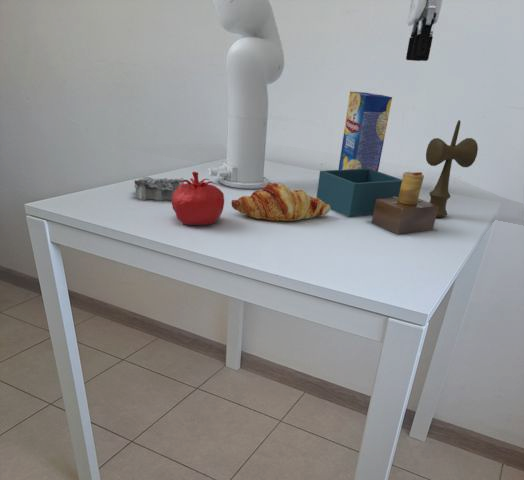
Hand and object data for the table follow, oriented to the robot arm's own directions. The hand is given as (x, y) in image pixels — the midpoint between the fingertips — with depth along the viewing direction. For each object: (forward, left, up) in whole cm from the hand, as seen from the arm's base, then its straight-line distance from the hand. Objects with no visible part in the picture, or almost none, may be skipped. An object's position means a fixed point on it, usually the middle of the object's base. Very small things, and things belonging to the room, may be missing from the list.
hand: (416, 60), depth 98 cm
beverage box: (+8, +21, -30) cm, 37 cm away
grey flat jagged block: (-47, +22, -30) cm, 60 cm away
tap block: (-6, -12, -30) cm, 33 cm away
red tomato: (-46, +3, -30) cm, 55 cm away
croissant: (-28, +1, -30) cm, 41 cm away
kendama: (+8, -8, -30) cm, 32 cm away
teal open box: (-6, +3, -30) cm, 31 cm away
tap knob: (-6, -12, -25) cm, 28 cm away
